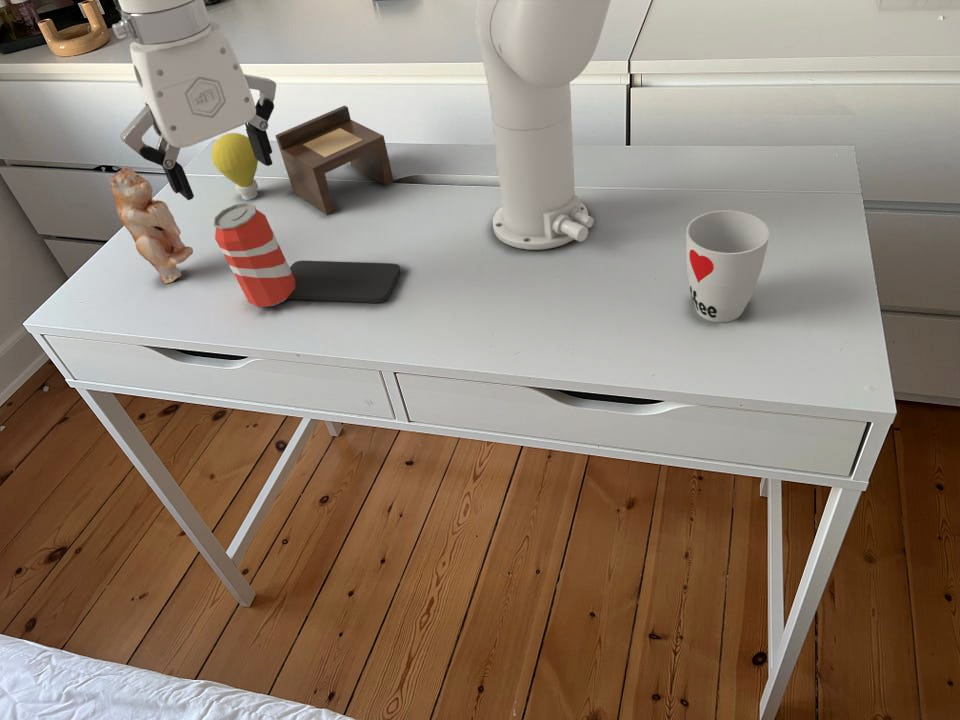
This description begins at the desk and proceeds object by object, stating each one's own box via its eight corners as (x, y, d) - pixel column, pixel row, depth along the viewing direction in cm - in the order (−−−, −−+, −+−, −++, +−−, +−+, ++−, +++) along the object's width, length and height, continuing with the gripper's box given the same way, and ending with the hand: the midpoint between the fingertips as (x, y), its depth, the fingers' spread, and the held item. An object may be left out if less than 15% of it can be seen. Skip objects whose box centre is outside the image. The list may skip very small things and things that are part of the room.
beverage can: (306, 281, 98) (270, 201, 90) (279, 314, 94) (238, 232, 86) (269, 277, 101) (230, 198, 93) (241, 308, 97) (198, 229, 89)
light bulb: (280, 189, 119) (260, 128, 113) (249, 210, 115) (227, 149, 109) (250, 181, 122) (228, 122, 116) (219, 202, 118) (195, 142, 112)
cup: (673, 291, 88) (677, 216, 82) (743, 281, 88) (753, 205, 82) (693, 336, 82) (699, 259, 76) (769, 325, 82) (781, 247, 76)
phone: (384, 299, 93) (272, 294, 96) (386, 304, 93) (273, 299, 97) (402, 263, 98) (294, 259, 102) (403, 268, 99) (296, 264, 102)
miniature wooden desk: (394, 181, 116) (380, 122, 110) (326, 215, 111) (309, 155, 105) (358, 162, 123) (344, 105, 116) (293, 193, 118) (274, 135, 111)
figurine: (189, 287, 102) (142, 186, 92) (139, 286, 104) (87, 187, 94) (210, 260, 106) (167, 161, 96) (161, 259, 108) (115, 162, 98)
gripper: (94, 57, 69) (166, 221, 81) (264, 1, 77) (309, 159, 88) (69, 40, 74) (141, 198, 85) (232, -11, 81) (278, 140, 93)
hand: (226, 178), depth 87 cm, fingers open, 9 cm apart
